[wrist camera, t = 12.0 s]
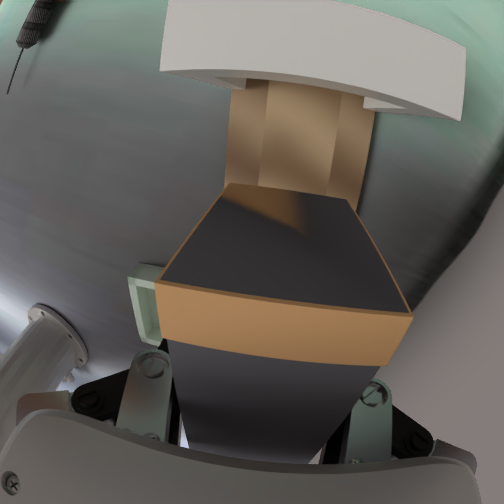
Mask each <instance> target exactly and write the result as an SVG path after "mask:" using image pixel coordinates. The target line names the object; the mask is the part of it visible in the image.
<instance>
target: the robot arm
mask: <svg viewBox="0 0 504 504" xmlns="http://www.w3.org/2000/svg"><path fill="white" fill-rule="evenodd" d="M28 319H29V323H30V324H29V325H28V326H27V327H26V328H25V329H24V330H23V331H22V333H21V334H20V335H19V336H18V337H17V339H16V340H15V341H14V342H13V343H12V344H11V346H10V347H9V348H8V349H7V351H6V352H5V353H4V354H3V356H2V357H1V358H0V504H482V503H481V497H480V492H479V488H478V485H477V481H476V478H475V476H474V475H475V472H476V467H477V462H476V458H475V456H474V455H473V454H472V453H470V452H468V451H466V450H463V449H461V448H458V447H456V446H453V445H451V444H448V443H446V442H444V441H441V440H439V439H437V440H436V441H434V440H433V438H432V436H431V434H430V433H429V431H427V430H426V429H425V428H424V427H422V426H421V425H420V424H418V423H417V422H415V421H414V420H413V419H411V418H410V417H408V416H407V415H406V414H404V413H403V412H402V411H400V410H399V409H398V408H396V407H395V406H393V405H392V394H391V391H390V389H389V387H388V386H387V385H386V384H385V383H384V382H382V381H381V380H379V379H375V378H373V379H372V380H371V382H370V383H369V385H368V386H367V388H366V390H365V391H364V392H363V394H362V395H361V397H360V398H359V400H358V401H357V403H356V404H355V405H354V407H353V408H352V410H351V411H350V412H349V414H348V415H347V417H346V418H345V419H344V421H343V422H342V423H341V424H340V426H339V427H338V428H337V430H336V431H335V432H334V433H333V435H332V436H331V437H330V438H329V440H328V441H327V442H326V443H325V445H324V446H323V447H322V451H321V455H320V460H319V464H291V463H276V462H265V461H256V460H248V459H241V458H234V457H228V456H222V455H217V454H211V453H206V452H202V451H197V450H192V449H188V448H184V447H180V439H181V426H182V417H181V412H180V408H179V403H178V398H177V394H176V389H175V383H174V378H173V373H172V367H171V362H170V356H169V350H168V343H167V339H165V338H163V339H162V341H161V343H160V345H159V347H158V349H148V350H144V351H142V352H140V353H138V354H137V355H136V356H135V357H134V359H133V361H132V363H131V367H130V369H127V370H125V371H122V372H119V373H116V374H113V375H110V376H107V377H104V378H102V379H99V380H96V381H92V382H89V383H86V384H84V385H81V386H79V387H78V388H77V389H76V390H75V391H74V392H71V393H70V392H69V391H68V390H65V391H56V389H57V388H58V386H59V384H60V383H61V382H66V381H67V380H68V381H69V382H73V381H74V380H75V378H74V376H73V374H72V373H71V371H72V370H73V368H74V367H75V366H76V367H81V366H83V365H84V364H85V363H86V361H87V359H88V353H87V350H86V347H85V345H84V343H83V342H82V340H81V338H80V337H79V335H78V334H77V333H76V332H75V330H74V329H73V328H72V327H71V326H70V325H69V324H68V323H67V322H66V321H65V320H64V319H63V318H62V317H61V316H60V315H58V314H57V313H56V312H55V311H53V310H51V309H50V308H48V307H46V306H44V305H40V304H35V305H33V306H32V307H31V308H30V309H29V311H28Z"/></svg>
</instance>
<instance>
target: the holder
mask: <svg viewBox="0 0 504 504" xmlns="http://www.w3.org/2000/svg"><path fill="white" fill-rule="evenodd" d="M364 97H365V96H361V95H357V94H353V93H348V92H344V91H339V90H334V89H329V88H323V87H318V86H312V85H306V84H299V83H291V82H283V81H275V80H264V79H252V78H246V87H245V90H239V89H232V94H231V104H230V116H229V127H228V140H227V153H226V167H225V181H224V189H225V188H226V186H227V185H228V184H229V183H237V184H246V185H254V186H262V187H270V188H277V189H285V190H292V191H298V192H305V193H311V194H317V195H323V196H329V197H335V198H341V199H346V200H348V201H349V202H350V204H351V206H352V207H353V209H354V210H355V212H356V208H357V204H358V200H359V195H360V191H361V186H362V182H363V177H364V172H365V167H366V162H367V157H368V151H369V146H370V140H371V134H372V128H373V122H374V115H375V111H373V110H369V109H365V108H363V104H364Z"/></svg>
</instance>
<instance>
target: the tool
mask: <svg viewBox="0 0 504 504" xmlns="http://www.w3.org/2000/svg"><path fill="white" fill-rule="evenodd" d="M57 1H65V0H36V1H35V2H34V4H33V6H32V8H31V10H30V12H29V14H28V16H27V18H26V20H25V22H24V24H23V26H22V28H21V31H20V33H19V35H18V37H17V40H16V42H17V44H18V46H19V48H22V50H21V53H20V55H19V58H18V60H17V63H16V66H15V69H14V72H13V75H12V78H11V81H10V84H9V87H8V90H7V94H8V92H9V89H10V86H11V83H12V79H13V76H14V73H15V71H16V68H17V65H18V62H19V60H20V57H21V54H22V52H23V49H24V48H25V49H28V48H30V47H32V46H33V45H35V44H36V43H37V41H38V38H39V36H40V34H41V32H42V30H43V28H44V26H45V24H46V22H47V20H48V18H49V16H50V14H51V12H52V10H53V9H54V7H55V5H56V3H57Z"/></svg>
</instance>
